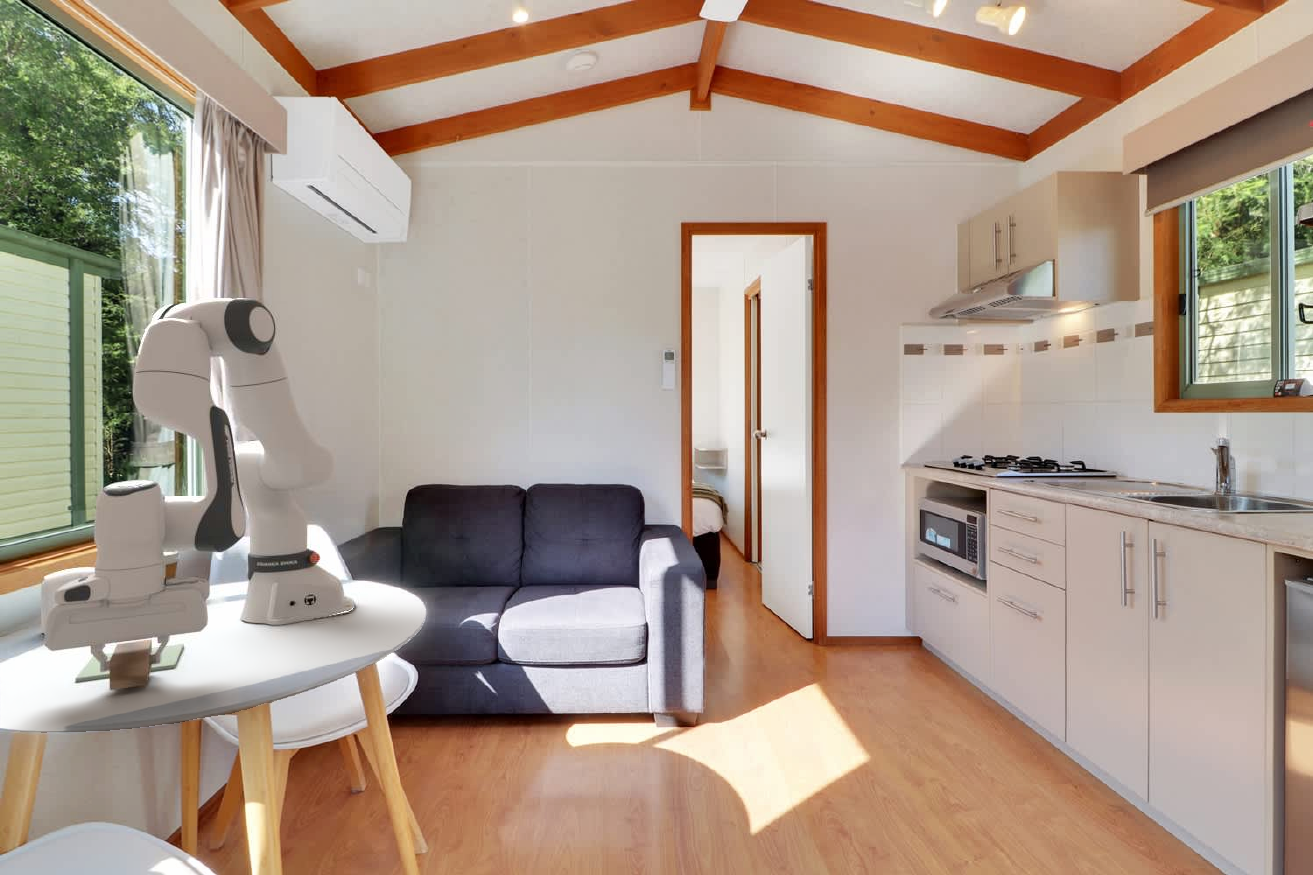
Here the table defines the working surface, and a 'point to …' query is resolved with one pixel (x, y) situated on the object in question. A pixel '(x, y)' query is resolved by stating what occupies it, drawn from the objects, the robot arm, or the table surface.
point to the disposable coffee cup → (171, 563)
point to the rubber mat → (167, 662)
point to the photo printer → (54, 583)
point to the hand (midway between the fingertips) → (131, 666)
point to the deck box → (130, 664)
